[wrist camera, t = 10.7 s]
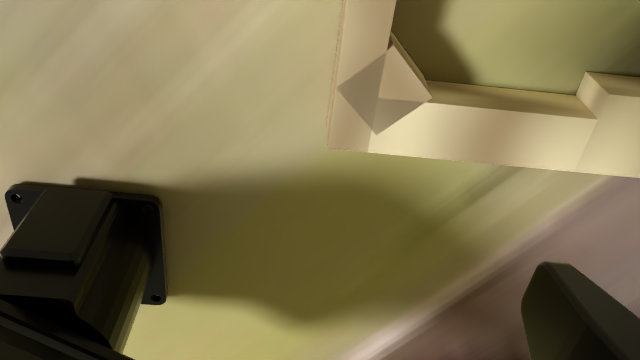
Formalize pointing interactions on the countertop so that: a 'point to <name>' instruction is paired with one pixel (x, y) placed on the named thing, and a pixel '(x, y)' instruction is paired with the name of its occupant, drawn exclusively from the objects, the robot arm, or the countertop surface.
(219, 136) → the countertop surface
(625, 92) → the wooden frame
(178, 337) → the countertop surface
